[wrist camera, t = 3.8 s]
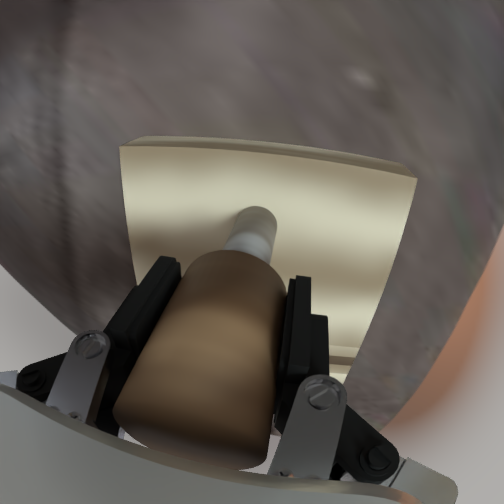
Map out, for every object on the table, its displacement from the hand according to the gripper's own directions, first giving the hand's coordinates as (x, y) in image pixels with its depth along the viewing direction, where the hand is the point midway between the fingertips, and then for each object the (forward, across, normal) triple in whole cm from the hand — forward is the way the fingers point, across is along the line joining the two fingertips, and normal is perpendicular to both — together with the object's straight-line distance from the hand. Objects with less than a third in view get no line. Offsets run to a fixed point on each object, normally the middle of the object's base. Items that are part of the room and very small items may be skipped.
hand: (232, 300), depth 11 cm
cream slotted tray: (+9, 0, +7) cm, 12 cm away
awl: (+6, 0, 0) cm, 6 cm away
